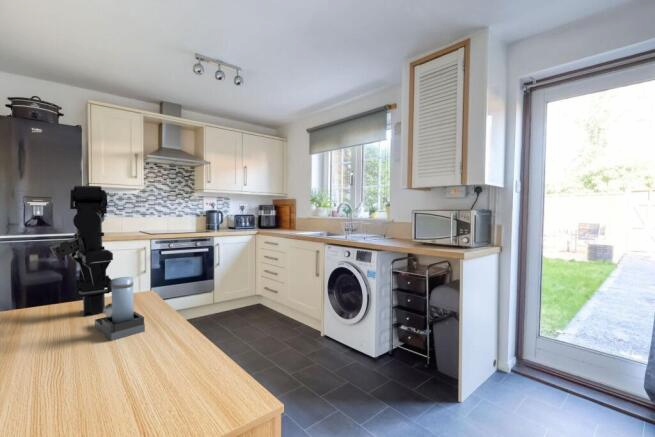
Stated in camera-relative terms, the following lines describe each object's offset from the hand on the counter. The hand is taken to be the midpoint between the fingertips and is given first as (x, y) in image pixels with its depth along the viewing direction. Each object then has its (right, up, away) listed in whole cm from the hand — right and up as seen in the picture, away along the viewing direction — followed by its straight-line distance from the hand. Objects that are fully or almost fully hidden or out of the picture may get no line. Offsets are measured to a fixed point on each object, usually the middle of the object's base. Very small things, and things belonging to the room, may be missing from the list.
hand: (91, 282), depth 89 cm
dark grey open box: (+9, -13, -1) cm, 16 cm away
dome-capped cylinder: (+11, -11, -3) cm, 16 cm away
